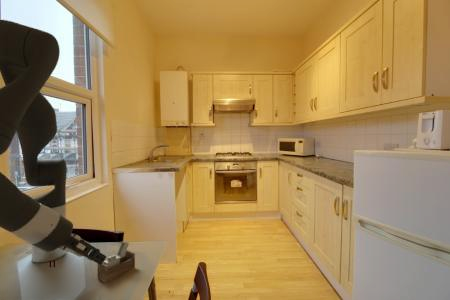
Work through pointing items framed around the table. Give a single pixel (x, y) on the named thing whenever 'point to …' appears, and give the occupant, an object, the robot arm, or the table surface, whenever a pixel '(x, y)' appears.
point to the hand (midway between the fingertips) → (94, 256)
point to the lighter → (114, 259)
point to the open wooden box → (117, 267)
